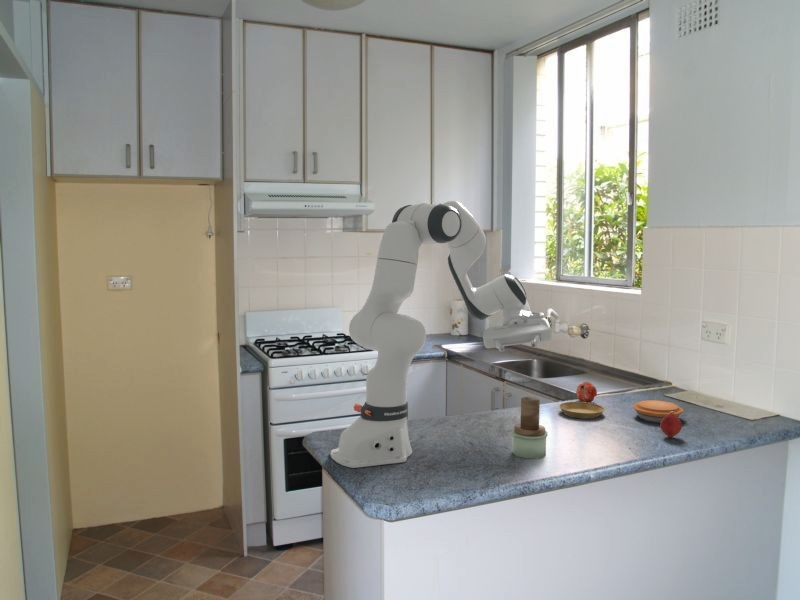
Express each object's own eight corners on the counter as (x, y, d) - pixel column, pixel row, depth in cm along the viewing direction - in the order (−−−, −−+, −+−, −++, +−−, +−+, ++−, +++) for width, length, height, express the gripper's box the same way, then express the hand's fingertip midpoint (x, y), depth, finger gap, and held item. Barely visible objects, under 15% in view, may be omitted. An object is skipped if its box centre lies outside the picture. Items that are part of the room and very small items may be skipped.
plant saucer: (572, 406, 236) (572, 399, 236) (612, 414, 226) (612, 406, 226) (550, 414, 226) (550, 407, 225) (591, 423, 216) (591, 415, 215)
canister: (527, 461, 179) (527, 439, 179) (504, 451, 188) (504, 430, 187) (554, 455, 184) (554, 433, 184) (530, 445, 193) (531, 425, 192)
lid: (528, 438, 180) (528, 404, 179) (507, 430, 187) (508, 397, 186) (551, 433, 184) (552, 400, 183) (531, 426, 191) (531, 394, 190)
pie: (674, 412, 228) (675, 398, 228) (689, 426, 213) (690, 410, 212) (627, 411, 230) (628, 397, 229) (639, 424, 214) (639, 409, 214)
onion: (668, 441, 197) (669, 414, 196) (655, 435, 202) (656, 409, 202) (685, 439, 198) (686, 413, 198) (672, 434, 204) (673, 408, 203)
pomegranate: (581, 404, 247) (566, 390, 243) (593, 388, 248) (577, 374, 243) (595, 411, 241) (580, 397, 236) (607, 394, 241) (591, 380, 237)
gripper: (481, 321, 209) (480, 342, 196) (548, 311, 204) (551, 333, 192) (485, 339, 211) (484, 361, 199) (551, 330, 207) (554, 352, 194)
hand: (517, 347), depth 195 cm, fingers open, 8 cm apart
